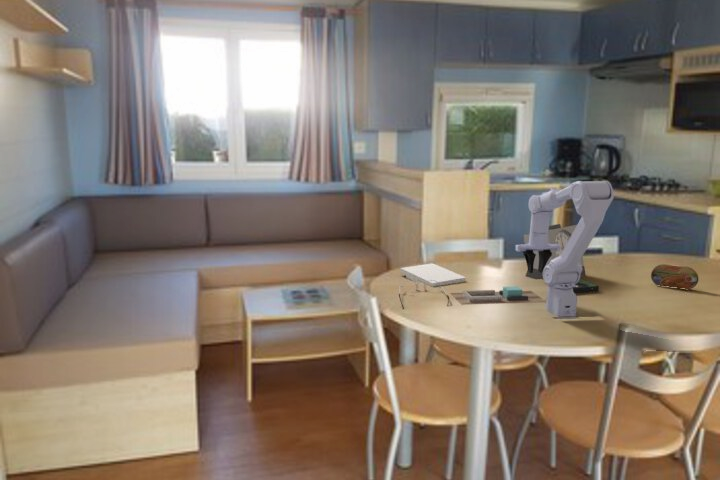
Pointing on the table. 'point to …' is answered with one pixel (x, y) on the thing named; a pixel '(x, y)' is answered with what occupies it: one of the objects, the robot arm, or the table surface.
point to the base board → (531, 298)
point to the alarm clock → (554, 237)
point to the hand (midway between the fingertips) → (535, 272)
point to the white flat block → (431, 274)
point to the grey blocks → (514, 297)
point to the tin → (674, 276)
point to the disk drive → (585, 287)
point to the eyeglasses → (424, 289)
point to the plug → (512, 291)
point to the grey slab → (472, 298)
